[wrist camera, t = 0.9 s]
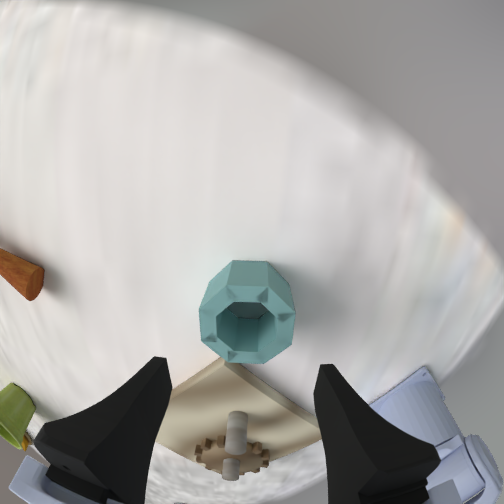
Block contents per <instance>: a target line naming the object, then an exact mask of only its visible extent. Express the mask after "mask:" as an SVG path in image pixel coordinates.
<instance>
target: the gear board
mask: <svg viewBox="0 0 504 504" xmlns="http://www.w3.org/2000/svg"><path fill="white" fill-rule="evenodd" d="M321 439H322V437H321V433H320V429H319V425H318V421H317V418H316V417H315V416H313V415H311V414H310V413H308V412H307V411H305V410H304V409H302V408H301V407H299V406H298V405H296V404H295V403H293V402H292V401H290V400H289V399H287V398H286V397H284V396H283V395H281V394H280V393H279V392H277V391H276V390H274V389H273V388H271V387H270V386H269V385H267V384H266V383H264V382H263V381H262V380H260V379H259V378H258V377H256V376H255V375H254V374H252V373H251V372H250V371H248V370H247V369H246V368H244V367H243V366H242V365H240V364H239V363H231V362H227V361H226V360H224V359H223V358H222V357H220V358H218V359H217V360H216V361H214V362H213V363H211V364H210V365H208V366H207V367H206V368H204V369H203V370H201V371H200V372H198V373H197V374H195V375H194V376H192V377H191V378H189V379H188V380H186V381H185V382H183V383H182V384H180V385H179V386H177V387H176V388H174V389H173V390H172V392H171V396H170V401H169V405H168V408H167V410H166V413H165V416H164V418H163V421H162V424H161V426H160V429H159V432H158V435H157V437H156V440H155V441H156V442H158V443H159V444H161V445H163V446H165V447H166V448H168V449H170V450H172V451H174V452H175V453H177V454H179V455H181V456H183V457H185V458H187V459H189V460H191V461H193V462H195V463H197V464H199V465H201V466H204V467H205V468H206V469H208V470H212V471H215V472H217V473H219V474H222V478H223V479H225V480H228V481H236V480H238V479H239V475H244V474H245V472H250V471H251V472H254V473H257V472H260V467H265V468H267V467H268V466H269V462H271V461H273V460H276V459H278V458H281V457H283V456H286V455H288V454H291V453H293V452H295V451H298V450H300V449H302V448H304V447H306V446H309V445H311V444H313V443H315V442H317V441H319V440H321Z"/></svg>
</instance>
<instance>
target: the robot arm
mask: <svg viewBox="0 0 504 504" xmlns="http://www.w3.org/2000/svg"><path fill="white" fill-rule="evenodd" d="M171 392H172V383H171V379H170V374H169V369H168V364H167V359H166V358H162V357H155V356H154V357H153V358H152V359H151V360H150V361H149V362H148V363H147V364H146V365H145V366H144V367H143V368H141V369H140V370H139V371H138V372H137V373H136V374H135V375H134V376H133V377H132V378H130V379H129V380H128V381H127V382H126V383H125V384H124V385H122V386H121V387H120V388H118V389H117V390H116V391H115V392H113V393H112V394H111V395H109V396H108V397H106V398H105V399H103V400H102V401H100V402H98V403H97V404H95V405H93V406H91V407H89V408H87V409H85V410H83V411H81V412H79V413H76V414H74V415H71V416H68V417H66V418H63V419H59V420H56V421H52V422H48V423H45V424H44V425H43V427H42V428H41V430H40V431H39V433H38V434H37V436H36V438H35V439H34V442H33V443H34V445H35V447H36V448H37V450H38V451H39V452H40V453H41V454H42V455H43V456H44V458H45V459H46V460H47V461H48V462H49V463H50V464H51V465H50V467H49V468H48V467H46V466H45V465H43V464H42V463H40V462H38V461H36V460H35V459H33V458H32V457H30V456H28V455H26V457H25V459H24V460H23V462H22V464H21V466H20V467H19V469H18V471H17V473H16V475H15V476H14V478H13V480H12V482H11V484H10V486H9V489H10V490H11V491H12V492H14V493H15V494H16V495H18V496H19V497H20V498H22V499H23V500H24V501H26V502H27V503H28V504H144V503H145V492H146V484H147V477H148V471H149V466H150V460H151V456H152V451H153V447H154V443H155V440H156V437H157V435H158V432H159V429H160V426H161V424H162V421H163V418H164V416H165V413H166V410H167V408H168V405H169V401H170V396H171ZM313 394H314V404H315V412H316V416H317V421H318V425H319V429H320V433H321V437H322V441H323V445H324V450H325V457H326V466H327V479H328V504H463V502H464V501H466V500H467V499H469V498H471V497H472V496H473V495H475V494H476V493H478V492H479V491H481V490H482V489H483V488H485V489H484V490H483V491H482V492H480V493H479V494H478V495H476V496H475V497H473V498H472V499H470V500H469V501H467V502H466V503H464V504H495V503H496V501H497V500H498V498H499V496H500V494H501V492H502V485H503V479H502V477H501V475H500V473H499V470H498V467H497V464H496V462H495V460H494V458H493V456H492V454H491V452H490V450H489V449H488V447H487V446H486V444H485V443H484V441H483V440H482V439H481V438H480V437H479V436H478V435H472V434H470V435H469V436H468V437H464V436H463V434H462V433H461V431H460V429H459V427H458V425H457V424H456V422H455V420H454V418H453V417H452V415H451V413H450V412H449V410H448V408H447V407H446V405H445V403H444V402H443V401H444V400H445V396H444V395H443V393H442V392H441V390H440V388H439V387H438V385H437V384H436V382H435V380H434V379H433V377H432V376H431V374H430V373H429V371H428V370H427V368H426V367H422V368H420V369H419V370H418V371H416V372H415V373H414V374H413V375H411V376H410V377H409V378H407V379H406V380H405V381H403V382H402V383H401V384H399V385H398V386H397V387H395V388H394V389H392V390H391V391H390V392H388V393H387V394H385V395H384V396H382V397H381V398H379V399H378V400H376V401H375V402H373V403H372V404H370V405H368V404H367V403H366V402H365V401H364V400H363V399H362V398H361V397H360V396H359V395H358V394H357V393H356V392H355V390H354V389H353V388H352V387H351V386H350V385H349V383H348V382H347V381H346V380H345V379H344V377H343V376H342V375H341V373H340V372H339V371H338V370H337V368H336V367H335V366H334V365H333V364H321V365H320V368H319V373H318V377H317V381H316V385H315V389H314V393H313Z"/></svg>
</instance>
